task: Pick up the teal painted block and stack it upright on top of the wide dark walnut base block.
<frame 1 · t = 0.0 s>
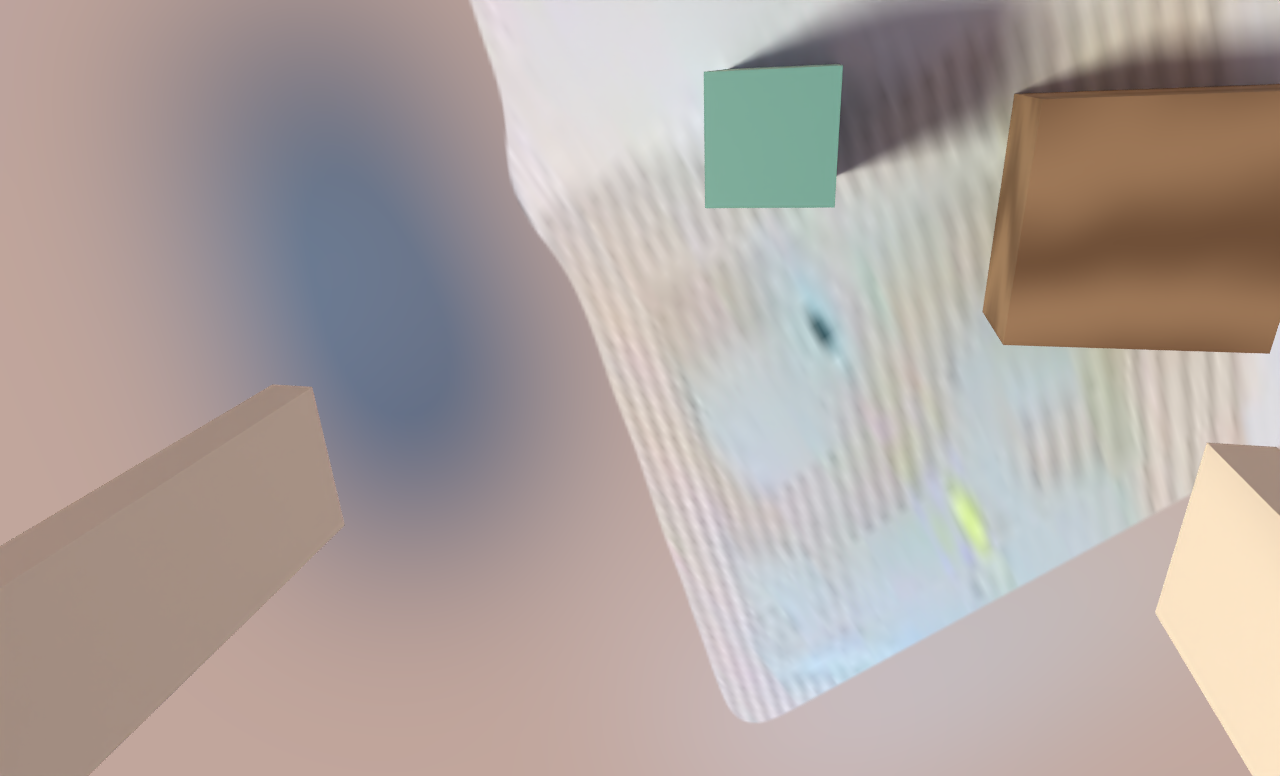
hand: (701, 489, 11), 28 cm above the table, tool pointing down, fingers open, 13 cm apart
walnut base block: (1115, 207, 34), on the table
teal block: (781, 123, 35), on the table
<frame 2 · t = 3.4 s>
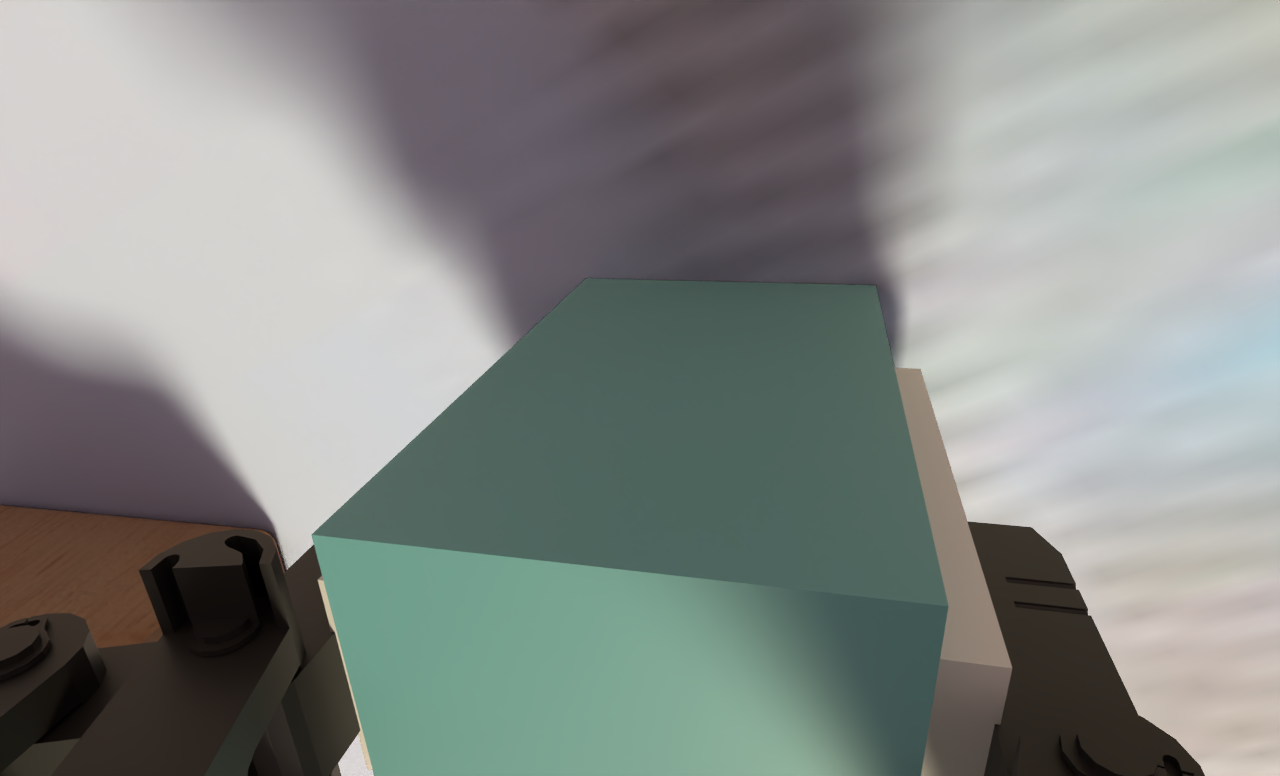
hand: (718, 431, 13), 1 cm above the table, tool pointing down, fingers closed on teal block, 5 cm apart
wooden block: (158, 577, 20), on the table
teal block: (723, 412, 14), on the table, touching gripper
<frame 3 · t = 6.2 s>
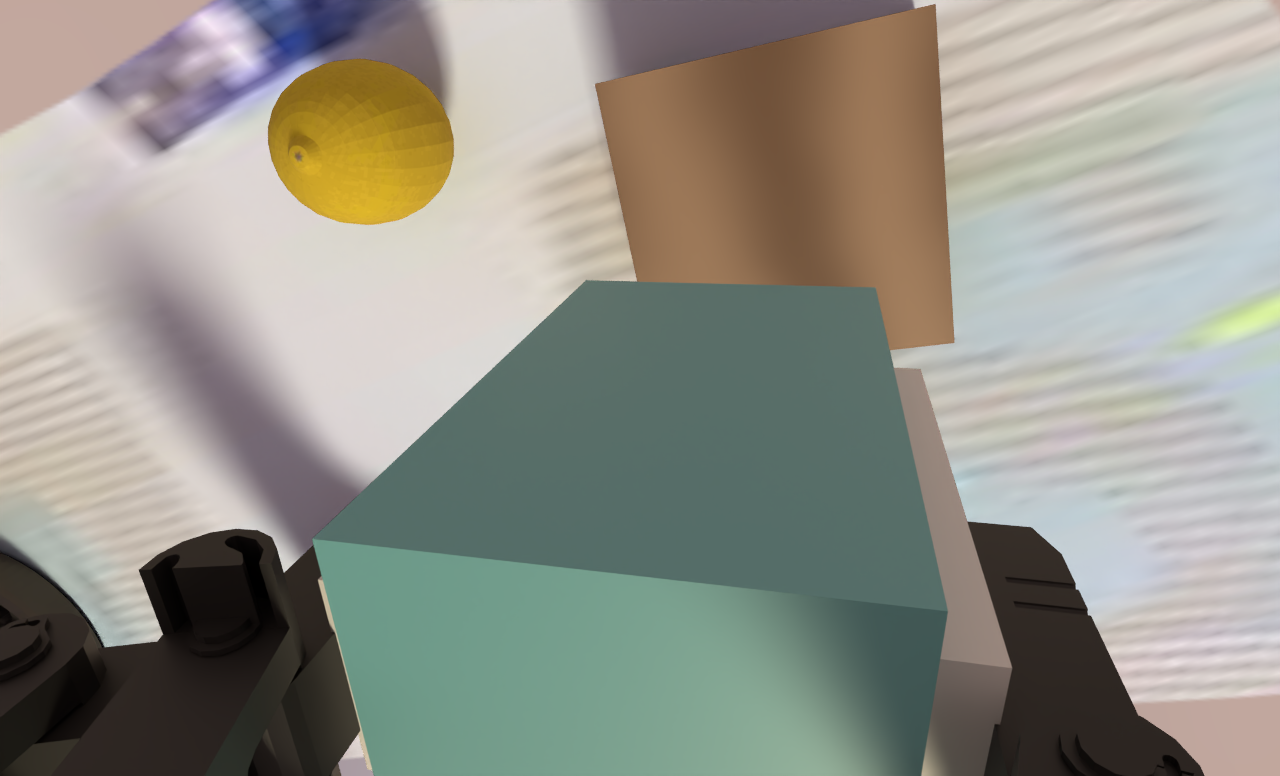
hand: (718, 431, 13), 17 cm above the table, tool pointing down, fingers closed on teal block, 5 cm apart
walnut base block: (784, 190, 28), on the table
teal block: (723, 414, 14), point 16 cm above the table, touching gripper
lemon: (424, 133, 30), on the table
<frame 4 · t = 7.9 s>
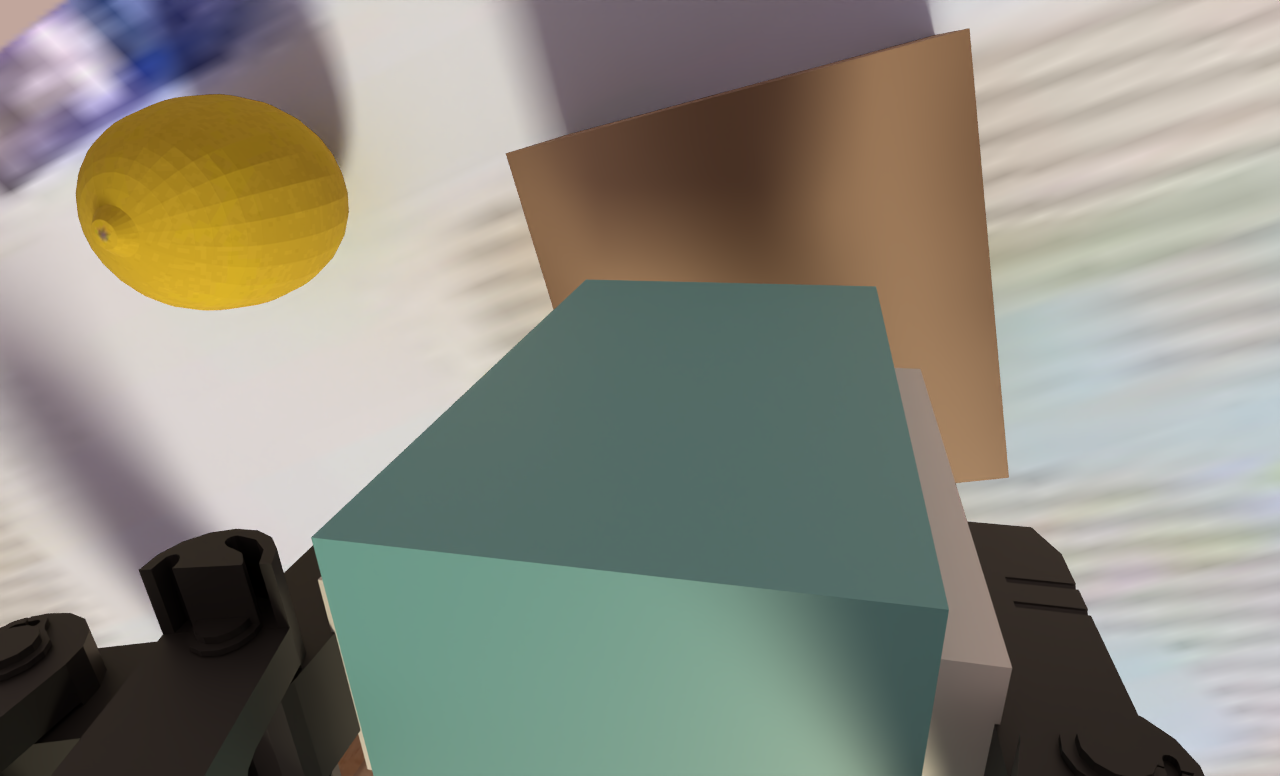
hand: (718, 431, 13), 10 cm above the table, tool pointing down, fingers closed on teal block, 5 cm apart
wooden block: (335, 708, 34), on the table
walnut base block: (772, 264, 22), on the table
teal block: (723, 413, 14), point 9 cm above the table, touching gripper
lemon: (321, 180, 24), on the table
when the fingers open (7 cm above the table, at t = 9.3 s): teal block drops 1 cm, resting on walnut base block.
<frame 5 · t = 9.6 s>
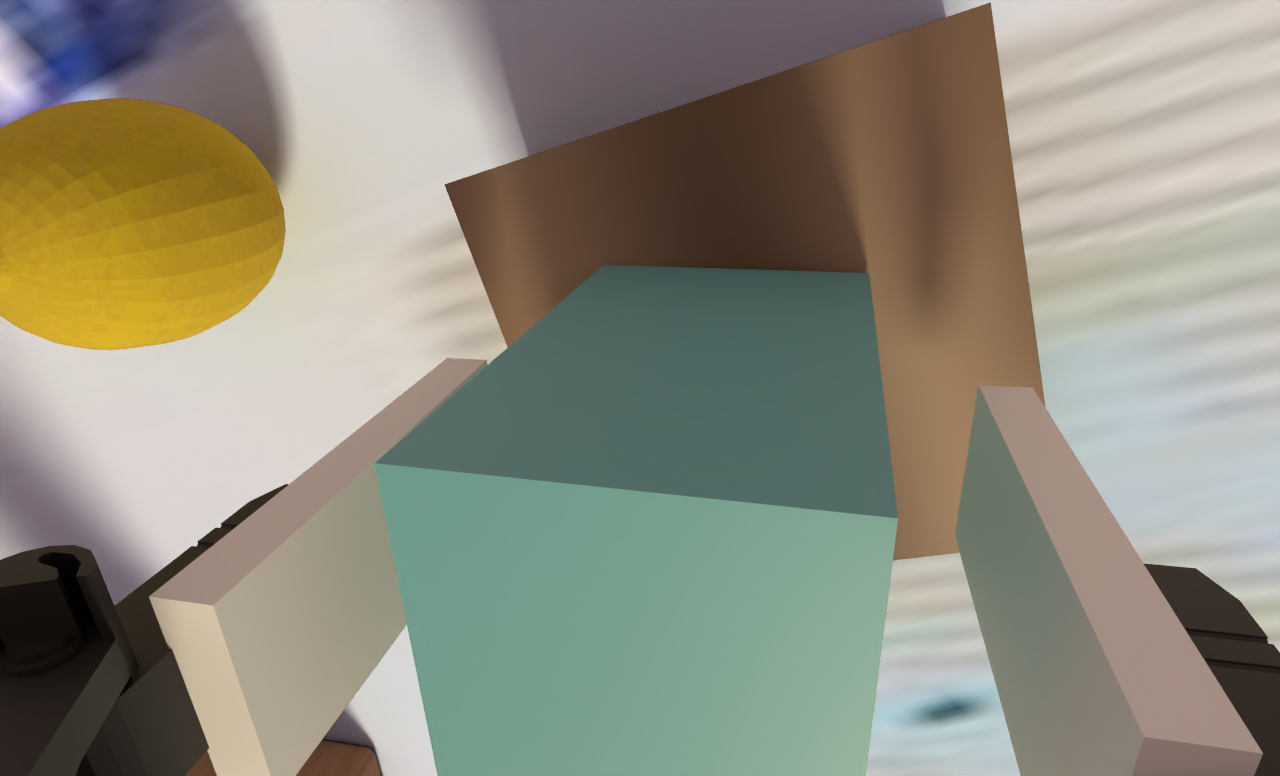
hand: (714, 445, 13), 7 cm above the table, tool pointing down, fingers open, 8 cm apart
wooden block: (297, 763, 32), on the table
walnut base block: (771, 292, 19), on the table, touching teal block
teal block: (728, 390, 15), point 5 cm above the table, touching walnut base block
lemon: (261, 194, 21), on the table
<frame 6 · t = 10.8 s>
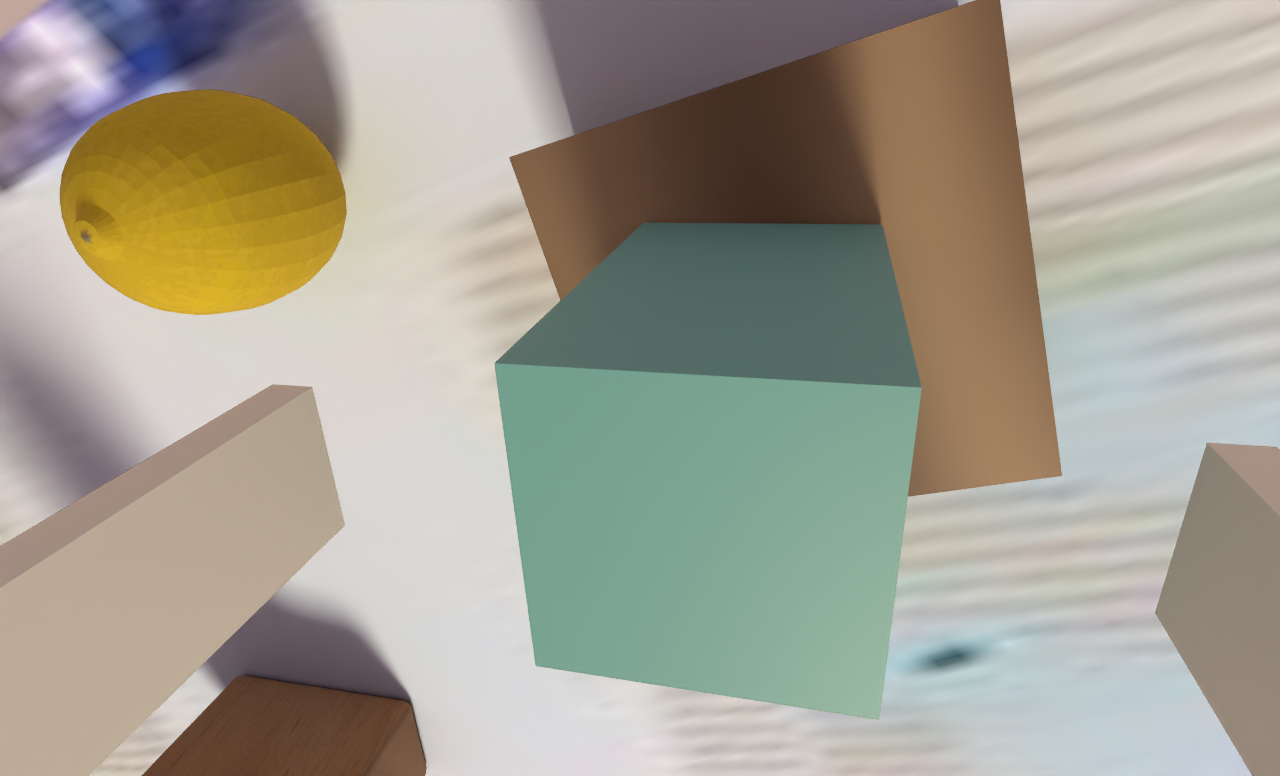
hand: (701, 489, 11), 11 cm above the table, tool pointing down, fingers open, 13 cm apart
wooden block: (336, 717, 34), on the table
walnut base block: (795, 260, 21), on the table, touching teal block
teal block: (755, 334, 17), point 5 cm above the table, touching walnut base block
lemon: (320, 179, 23), on the table
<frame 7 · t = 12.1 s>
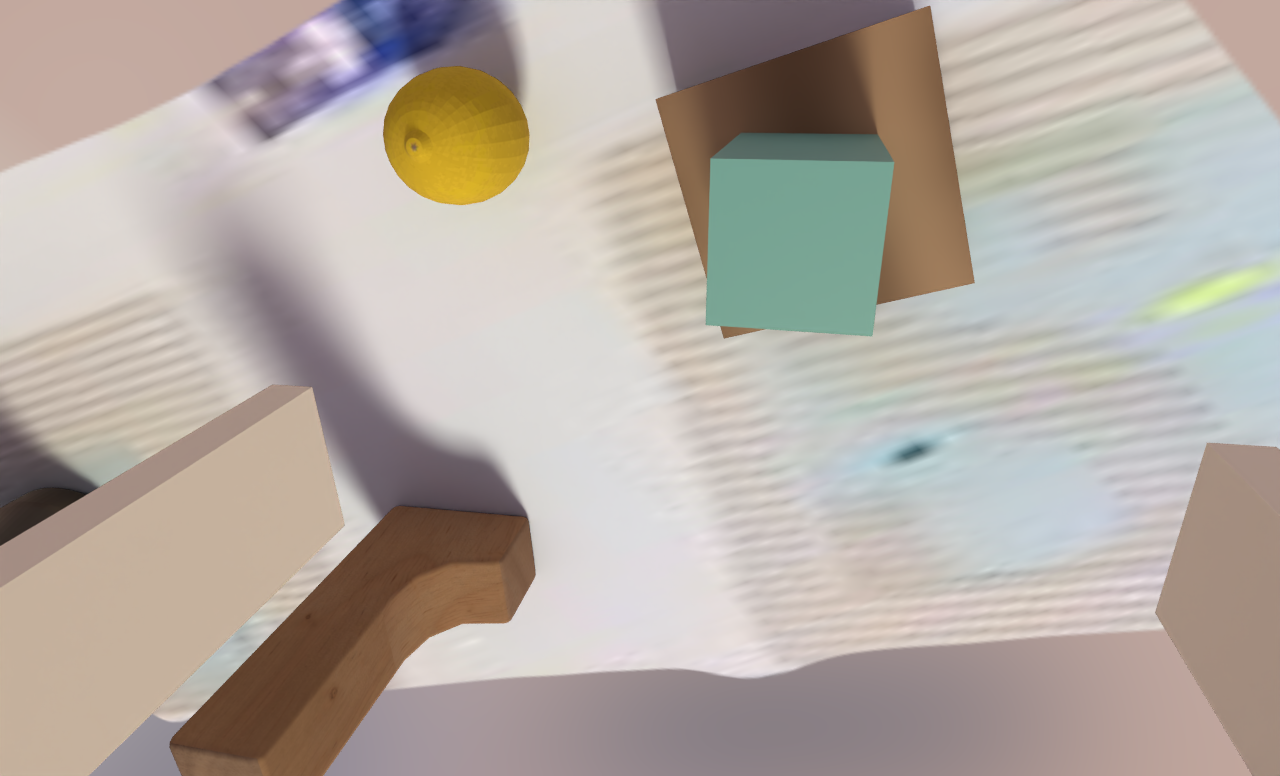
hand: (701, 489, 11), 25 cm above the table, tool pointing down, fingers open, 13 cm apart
wooden block: (467, 537, 46), on the table
walnut base block: (817, 172, 33), on the table, touching teal block
teal block: (802, 201, 29), point 5 cm above the table, touching walnut base block
lemon: (499, 128, 35), on the table
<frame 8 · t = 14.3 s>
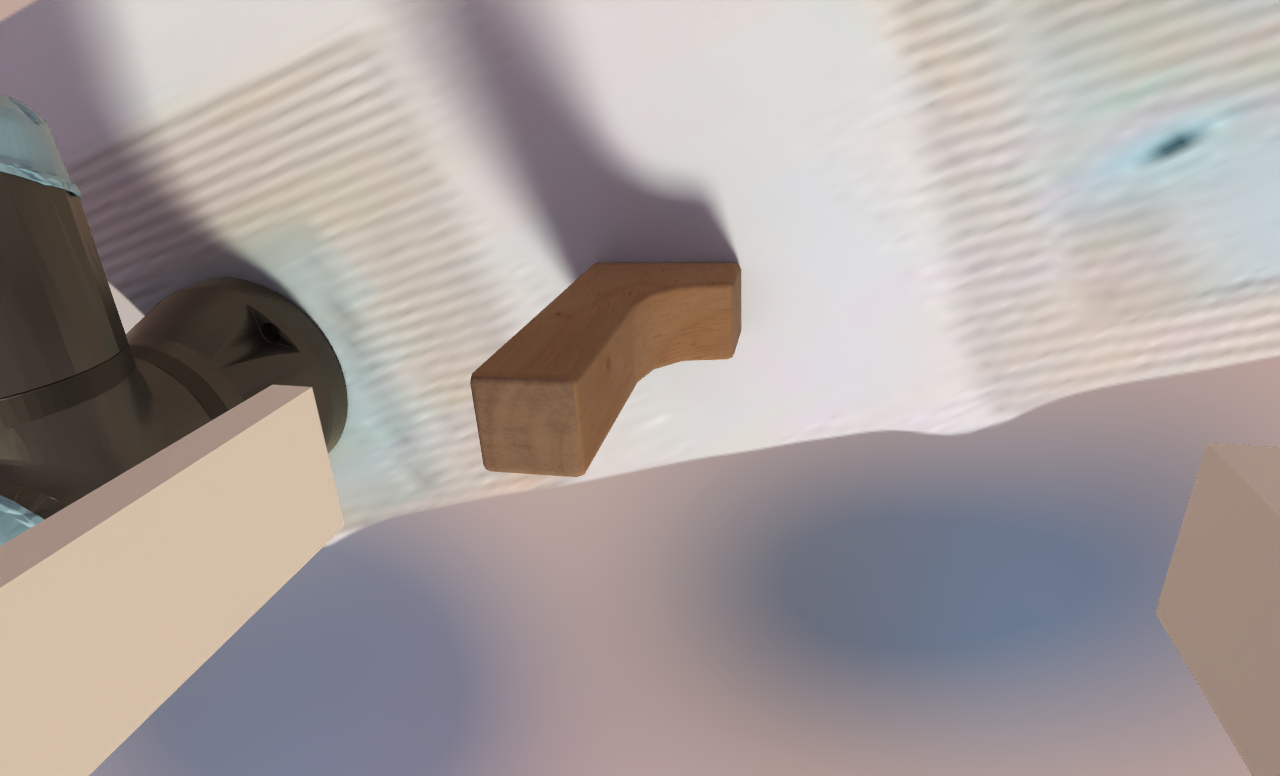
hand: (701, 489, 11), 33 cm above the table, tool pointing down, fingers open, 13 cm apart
wooden block: (667, 296, 45), on the table
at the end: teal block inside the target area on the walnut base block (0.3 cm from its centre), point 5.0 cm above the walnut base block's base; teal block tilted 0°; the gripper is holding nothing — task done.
